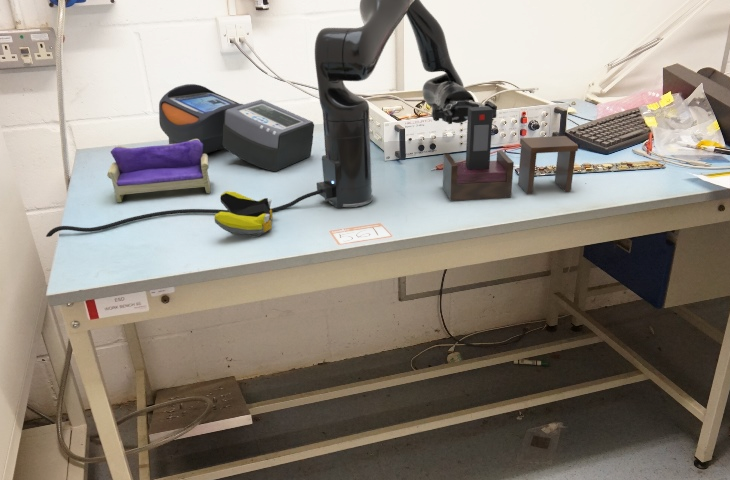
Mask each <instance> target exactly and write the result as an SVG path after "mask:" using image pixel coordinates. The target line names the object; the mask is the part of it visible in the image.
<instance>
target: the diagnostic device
mask: <svg viewBox="0 0 730 480" xmlns="http://www.w3.org/2000/svg"><path fill="white" fill-rule="evenodd" d="M158 121H159V127H160V129H161V130H162V132H163V133H164V134H165V136H166V137H168V145H169V144H177V143H182V142H187V141H190V140H193V139H199V140H200V142H201V143H203V151H202V154H206V155H208V154H210V153H213V152H216V151H219V150H222V149H225V150H227V151H228V152H229V153H231V154H233V155H234V156H236V157H238V158H239V159H241V160H243V161H245V162H247V163H248V164H251V165H253V166H256V167H258V168H261V169H264V170H267V171H270V172H278V171H280V170H283V169H284V168H285V169H286V168H287V167H289V166H292V165H294V164H297V163H299V162H301V161H303V160H305V159H308V158H310V157H311V156H312V149H313V142H314V141H313V140H314V130H315V123H314V121H312V120H309V119H308V118H305V117H303V116H300V115H298V114H295V113H294V112H291V111H289V110H287V109H284V108H283V107H280V106H278V105H275V104H273V103H270V102H269V101H266V100H263V99H258V100H255V101H251V102H248V103H244V104H243V103H239V102H237V101H235V100H233V99H230V98H228V97H226V96H223V95H221V94H219V93H216V92H215V91H213V90H211V89H210V88H207V87H206V86H204V85H201V84H195V83H187V84H182V85H178V86H176V87H174V88H172V89H171V90H168V91H167V92H166V93H165V94H164V95H163V96H162V97H161V99H160V100H159V103H158Z"/></svg>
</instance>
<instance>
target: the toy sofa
mask: <svg viewBox="0 0 730 480" xmlns="http://www.w3.org/2000/svg"><path fill="white" fill-rule="evenodd" d="M202 151H203V143H201V142H200V140H199V139H193V140H190V141H187V142H182V143H177V144H169V143H168V144H162V145H161V144H160V145H149V146H140V147H127V146H122V145H115V146H114V147H113V148H112V149H111V150H110V154H111V156H112V158H113V159H114V162H112V163H111V165H110V167H109V169H108V171H107V172H106V173H107V177H108V179H110V180H111V182H112V187H113V190H114V191H113V192H114V194H115V199H116V202H117V203H121V202H122V201H123V199H124V197H125V195H133V194H142V193H151V192H162V191H174V190H183V189H193V188H194V189H195V188H204V189H205V193H206V194H210V193H211V181H210V175H209V171H208V170H209V167H210V166H209V155H208V154H202Z"/></svg>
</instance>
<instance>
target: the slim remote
mask: <svg viewBox="0 0 730 480" xmlns="http://www.w3.org/2000/svg"><path fill="white" fill-rule="evenodd" d="M492 117H493V109H492V108H490V107H489V106H486V107H468V120H467V121H466V122H467V124H466V146H465V147H466V148H465V149H466V150H465V162H466V167H467V168H468V169H469V170H476V169H489V166H490V161H491V148H492V131H493V120H492Z"/></svg>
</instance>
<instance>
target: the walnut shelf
mask: <svg viewBox="0 0 730 480" xmlns="http://www.w3.org/2000/svg"><path fill="white" fill-rule="evenodd" d="M519 144H520V155H519V164H518V165H519V166H518V167H519V168H518V176H517V177H518V178H517V185H518V186H519V187H520V188H521V189H522V190H523V192H525V194H526V195H533V194H534V183H535V173H536V165H537V154H547V153H549V154H550V153H557V157H556V164H555V165H556V166H555V175H554V183H555V184H556V185H557V186H558V187H559V188H560V189H562V191H564V192H565V193H570V192H571V191H572V184H573V176H574V169H575V168H574V167H575V162H576V154H577V152H578V151H579V145H578V144H577V143H575V142H574V141H573V140H571V139H570V138H569V137H568V136H566V135H555V136H537V137H536V136H535V137H534V136H533V137H520V138H519Z"/></svg>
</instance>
